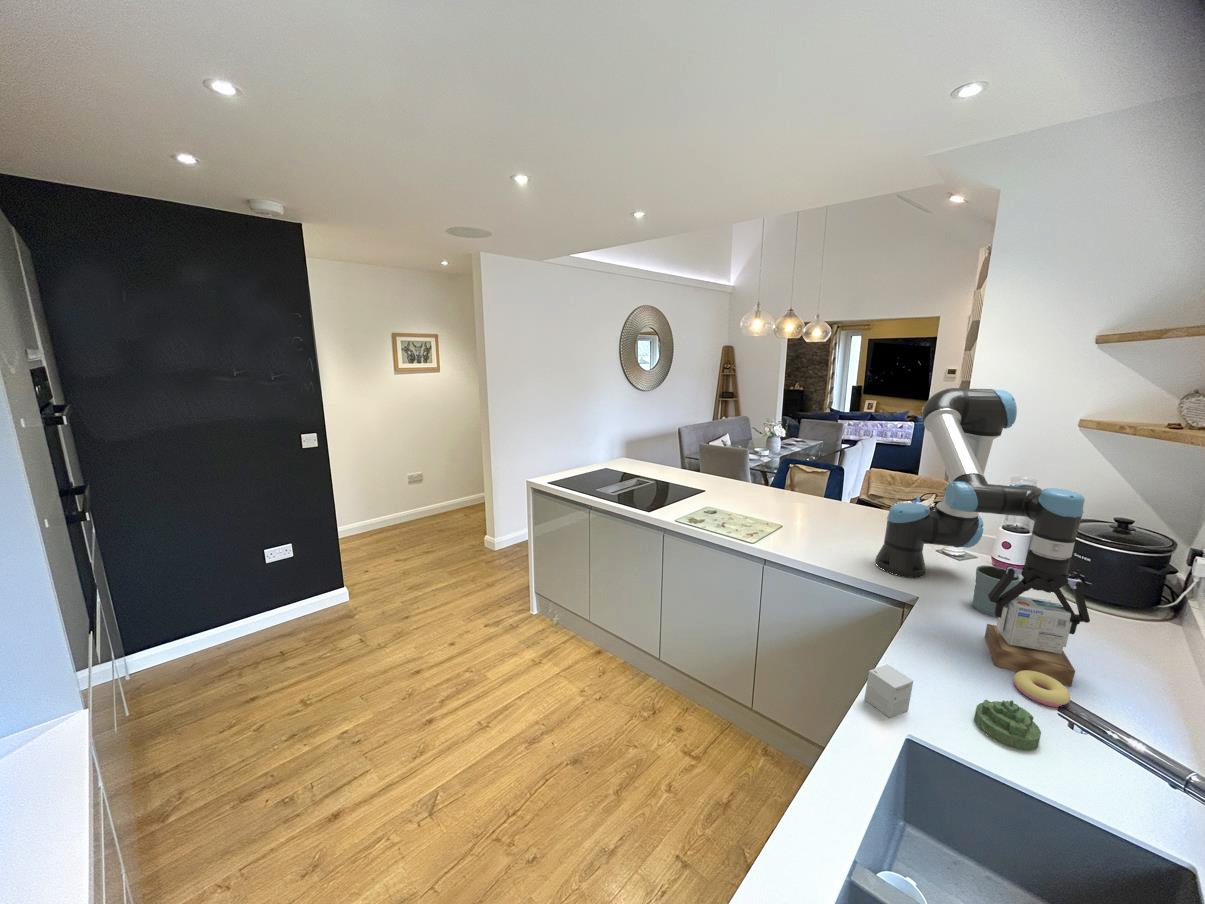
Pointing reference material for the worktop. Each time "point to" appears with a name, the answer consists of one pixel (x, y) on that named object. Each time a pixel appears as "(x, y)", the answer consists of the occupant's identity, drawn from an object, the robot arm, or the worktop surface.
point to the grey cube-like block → (888, 690)
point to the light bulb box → (1036, 624)
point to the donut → (1041, 688)
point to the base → (1028, 658)
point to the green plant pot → (988, 587)
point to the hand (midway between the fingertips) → (1029, 636)
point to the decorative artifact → (1008, 724)
